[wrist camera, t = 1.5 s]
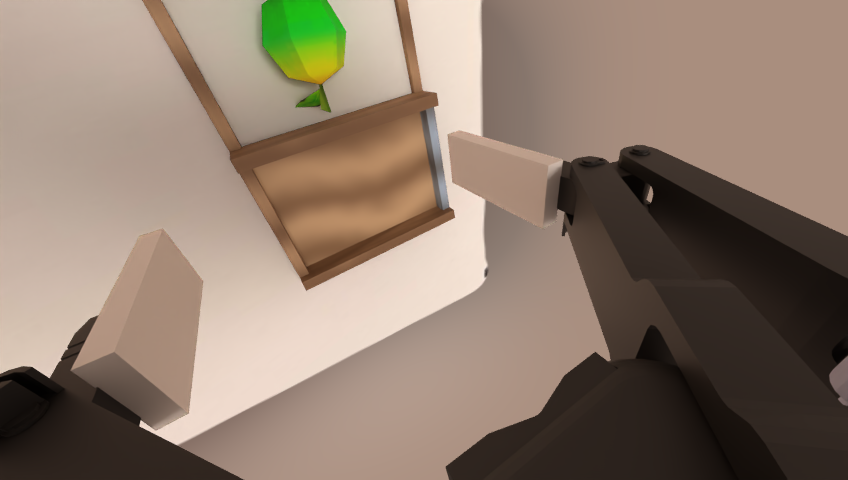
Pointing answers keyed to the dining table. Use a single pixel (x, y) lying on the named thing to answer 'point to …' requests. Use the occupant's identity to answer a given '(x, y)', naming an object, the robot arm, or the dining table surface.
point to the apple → (304, 42)
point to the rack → (339, 170)
